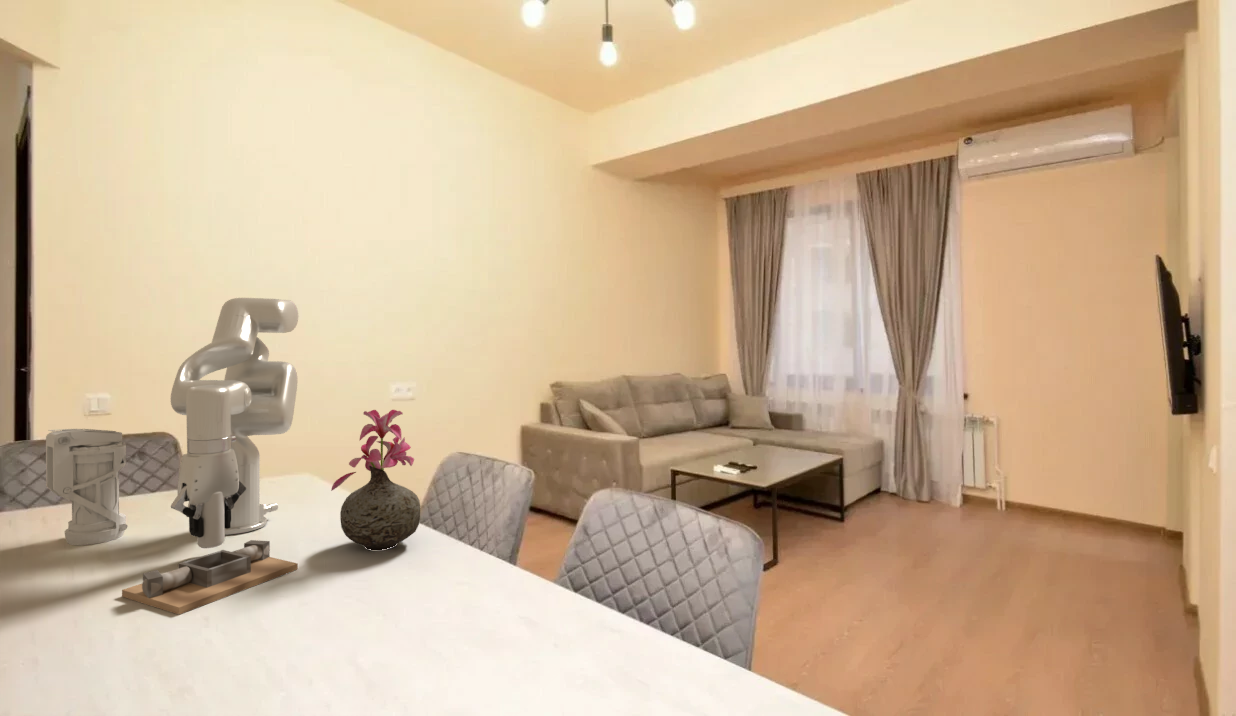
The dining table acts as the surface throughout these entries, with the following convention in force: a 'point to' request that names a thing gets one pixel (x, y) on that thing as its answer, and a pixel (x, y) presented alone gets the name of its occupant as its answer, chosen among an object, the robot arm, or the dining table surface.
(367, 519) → the vase
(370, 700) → the dining table surface
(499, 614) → the dining table surface
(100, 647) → the dining table surface
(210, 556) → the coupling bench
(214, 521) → the beverage can
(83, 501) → the lantern
